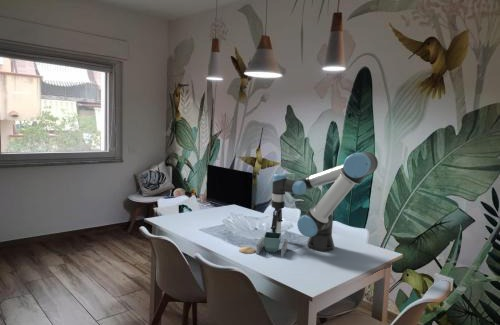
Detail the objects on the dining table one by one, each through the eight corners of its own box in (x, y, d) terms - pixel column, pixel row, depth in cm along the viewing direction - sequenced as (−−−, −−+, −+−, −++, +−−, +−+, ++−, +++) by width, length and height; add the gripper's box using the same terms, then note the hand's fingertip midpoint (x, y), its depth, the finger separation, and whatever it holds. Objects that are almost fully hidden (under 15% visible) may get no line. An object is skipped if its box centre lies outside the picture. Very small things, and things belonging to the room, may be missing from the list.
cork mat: (257, 249, 199) (257, 248, 198) (253, 254, 190) (253, 253, 190) (241, 247, 201) (241, 246, 201) (236, 252, 192) (237, 251, 192)
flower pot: (279, 254, 192) (280, 238, 190) (263, 253, 193) (263, 237, 192) (280, 248, 200) (281, 232, 199) (265, 246, 202) (265, 231, 200)
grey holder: (287, 248, 201) (287, 240, 200) (283, 257, 187) (283, 248, 187) (262, 245, 204) (262, 237, 204) (256, 254, 191) (256, 244, 190)
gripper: (276, 195, 219) (274, 228, 222) (267, 205, 195) (265, 242, 198) (288, 196, 217) (286, 230, 220) (280, 206, 193) (278, 244, 196)
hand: (276, 236), depth 209 cm, fingers open, 13 cm apart
